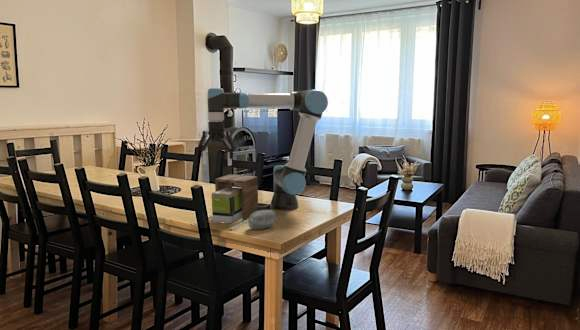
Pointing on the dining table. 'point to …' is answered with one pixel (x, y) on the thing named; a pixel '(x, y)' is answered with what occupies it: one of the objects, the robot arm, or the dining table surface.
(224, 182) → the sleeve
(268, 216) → the gray ridged ovoid
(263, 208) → the pit tray
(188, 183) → the dining table surface
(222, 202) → the tea box
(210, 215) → the lane
